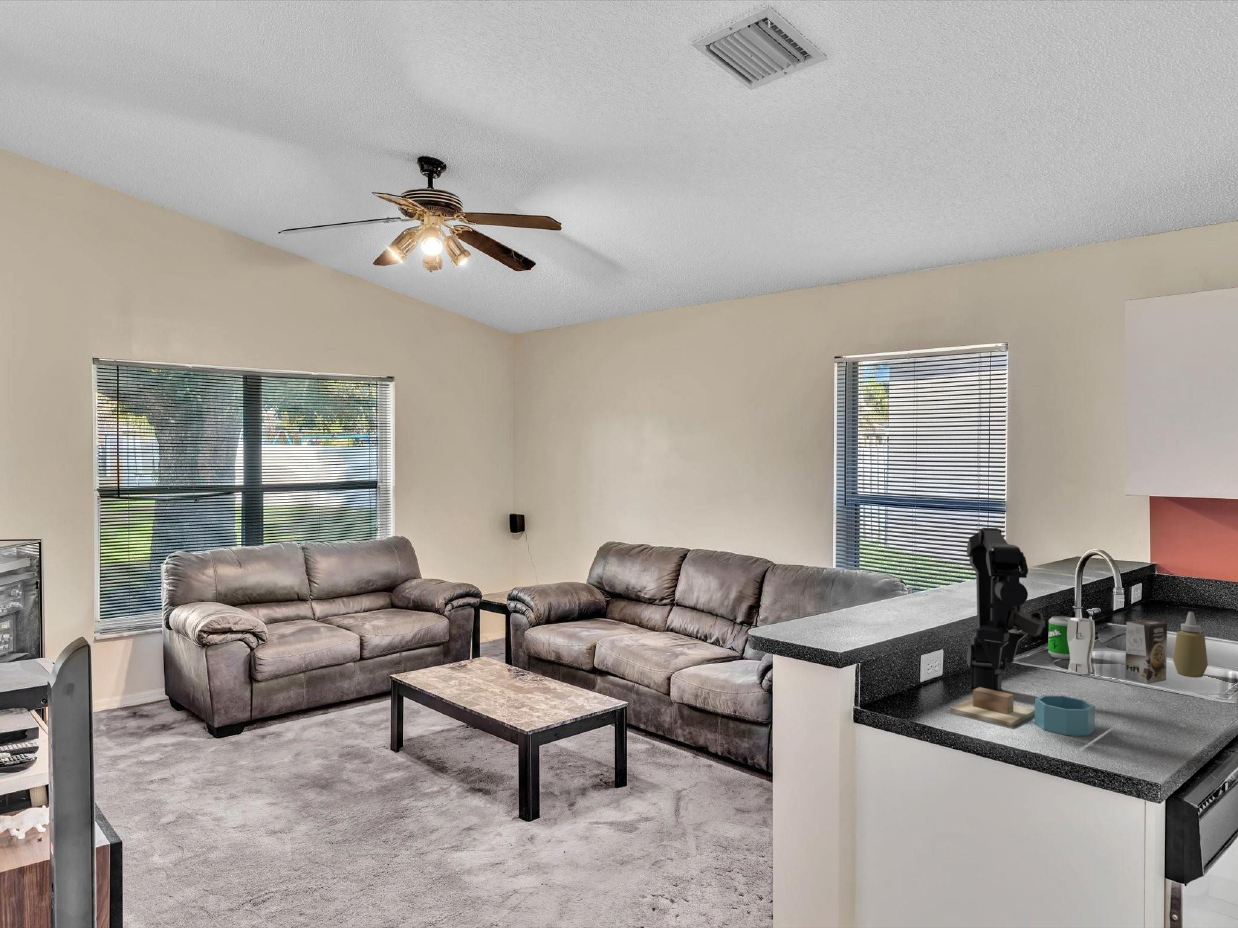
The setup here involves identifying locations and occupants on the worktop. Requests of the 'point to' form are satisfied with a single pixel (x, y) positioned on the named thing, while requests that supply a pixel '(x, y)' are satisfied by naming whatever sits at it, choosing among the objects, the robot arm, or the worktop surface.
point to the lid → (993, 707)
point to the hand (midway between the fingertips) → (1003, 665)
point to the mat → (996, 723)
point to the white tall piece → (1080, 644)
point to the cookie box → (1146, 651)
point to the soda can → (1058, 637)
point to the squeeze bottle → (1190, 649)
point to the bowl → (1065, 715)
